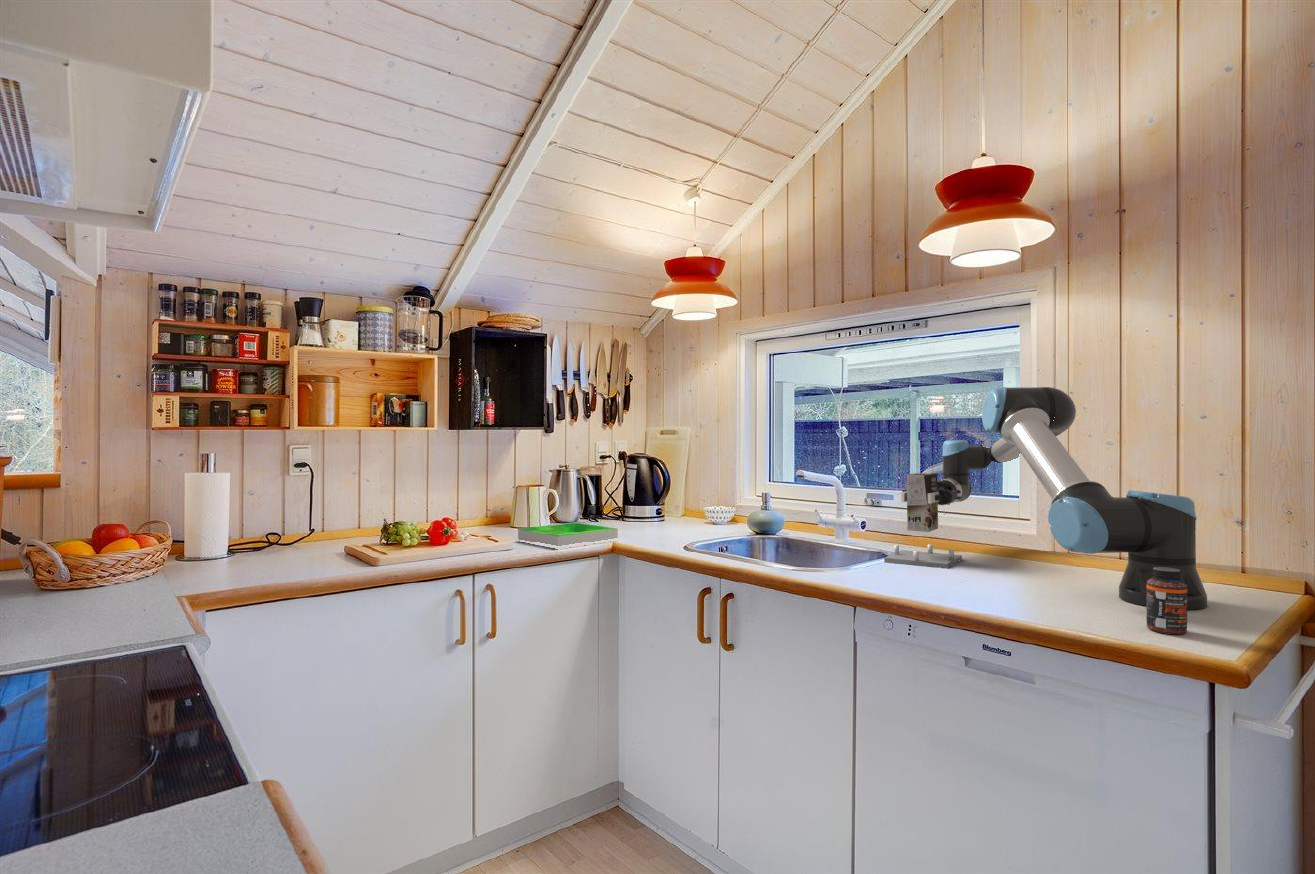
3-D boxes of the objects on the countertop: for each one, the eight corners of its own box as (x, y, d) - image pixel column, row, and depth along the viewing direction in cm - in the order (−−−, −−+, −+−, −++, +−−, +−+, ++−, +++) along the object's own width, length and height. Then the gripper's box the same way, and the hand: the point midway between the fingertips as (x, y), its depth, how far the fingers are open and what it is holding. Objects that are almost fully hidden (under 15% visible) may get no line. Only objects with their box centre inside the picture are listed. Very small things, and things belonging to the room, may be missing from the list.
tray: (558, 551, 222) (557, 536, 222) (518, 543, 241) (517, 529, 241) (617, 542, 239) (617, 528, 239) (576, 535, 258) (576, 522, 258)
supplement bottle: (1168, 636, 120) (1167, 572, 120) (1138, 627, 126) (1137, 566, 126) (1196, 634, 121) (1195, 570, 121) (1165, 625, 127) (1164, 564, 127)
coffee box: (930, 532, 190) (929, 474, 190) (906, 530, 194) (905, 473, 193) (939, 528, 197) (938, 472, 197) (916, 527, 201) (915, 472, 201)
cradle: (947, 568, 183) (947, 554, 183) (884, 561, 194) (884, 548, 194) (962, 559, 196) (961, 546, 196) (902, 553, 206) (902, 541, 206)
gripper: (979, 506, 202) (952, 513, 185) (913, 502, 215) (882, 508, 198) (978, 480, 202) (951, 485, 185) (912, 478, 215) (881, 483, 198)
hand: (915, 497), depth 191 cm, fingers closed on coffee box, 7 cm apart
